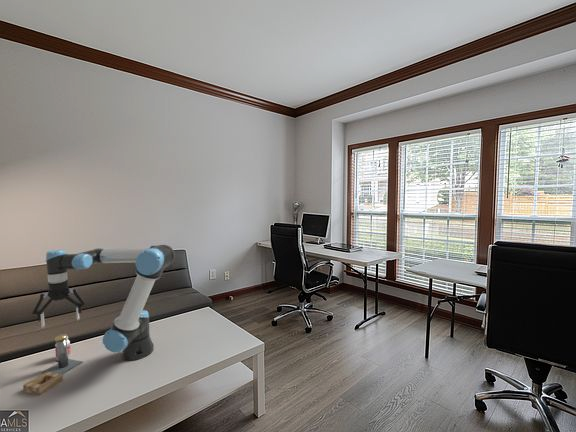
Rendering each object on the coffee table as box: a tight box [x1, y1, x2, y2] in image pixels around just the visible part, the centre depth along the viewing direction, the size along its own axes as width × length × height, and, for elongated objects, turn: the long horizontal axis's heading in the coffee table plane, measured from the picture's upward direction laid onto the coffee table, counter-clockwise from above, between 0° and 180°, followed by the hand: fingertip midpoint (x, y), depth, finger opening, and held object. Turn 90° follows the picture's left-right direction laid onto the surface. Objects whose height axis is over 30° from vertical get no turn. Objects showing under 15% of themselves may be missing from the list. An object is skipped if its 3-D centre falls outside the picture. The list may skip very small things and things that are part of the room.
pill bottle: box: [54, 335, 72, 361], centre depth 147 cm, size 6×6×11 cm
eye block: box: [22, 372, 64, 396], centre depth 124 cm, size 10×10×3 cm
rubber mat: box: [43, 358, 83, 376], centre depth 139 cm, size 11×11×1 cm
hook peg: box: [54, 333, 69, 368], centre depth 138 cm, size 5×5×16 cm
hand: (61, 323), depth 137 cm, fingers open, 13 cm apart
